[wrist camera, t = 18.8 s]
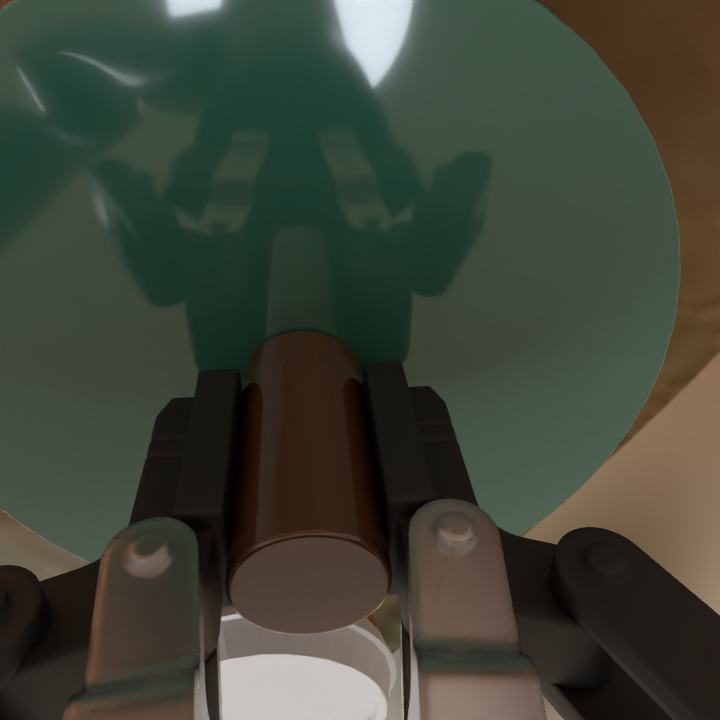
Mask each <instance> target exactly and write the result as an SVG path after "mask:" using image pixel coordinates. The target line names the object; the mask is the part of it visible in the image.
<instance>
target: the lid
mask: <svg viewBox="0 0 720 720" xmlns="http://www.w3.org/2000/svg"><path fill="white" fill-rule="evenodd" d="M680 280H681V270H680V233H679V227H678V222H677V216H676V211H675V205H674V200H673V194H672V189H671V185H670V182H669V179H668V176H667V173H666V171H665V168H664V165H663V162H662V159H661V157H660V154H659V151H658V148H657V146H656V143H655V140H654V138H653V136H652V134H651V132H650V130H649V129H648V127H647V125H646V123H645V121H644V120H643V118H642V116H641V114H640V113H639V111H638V109H637V107H636V105H635V104H634V102H633V100H632V98H631V97H630V95H629V93H628V91H627V90H626V89H625V87H624V86H623V85H622V84H621V82H620V81H619V80H618V79H617V77H616V76H615V75H614V74H613V72H612V71H611V70H610V69H609V68H608V66H607V65H606V64H605V63H604V61H603V60H602V59H601V58H600V56H599V55H598V54H597V53H596V51H595V50H594V49H593V48H592V46H591V45H589V44H588V43H587V42H586V41H585V40H584V39H583V38H582V37H581V36H579V35H578V34H577V33H576V32H575V31H574V30H573V29H572V28H570V27H569V26H568V25H567V24H566V23H565V22H564V21H563V20H561V19H560V18H559V17H558V16H557V15H556V14H555V13H554V12H553V11H551V10H550V9H549V8H548V7H547V6H546V5H545V4H543V3H541V2H540V1H538V0H11V1H9V2H8V3H6V4H5V5H4V6H2V7H1V8H0V509H2V510H3V511H4V512H6V513H7V514H8V515H9V516H11V517H12V518H13V519H15V520H16V521H17V522H18V523H20V524H21V525H23V526H24V527H26V528H28V529H29V530H31V531H32V532H34V533H36V534H37V535H39V536H40V537H42V538H44V539H45V540H47V541H48V542H50V543H52V544H53V545H55V546H57V547H59V548H61V549H63V550H65V551H67V552H69V553H71V554H73V555H75V556H77V557H79V558H81V559H83V560H85V561H87V562H89V563H92V562H94V561H96V560H98V559H99V558H101V557H102V554H103V552H104V549H105V548H106V546H107V545H108V543H109V542H110V541H111V540H112V538H113V537H114V536H115V535H117V534H118V533H119V532H120V531H121V530H123V529H124V528H126V527H128V525H129V522H130V518H131V514H132V510H133V506H134V502H135V499H136V495H137V491H138V487H139V483H140V479H141V475H142V471H143V467H144V463H145V459H147V451H148V448H149V444H150V442H151V436H152V432H153V428H154V424H155V420H156V417H157V415H158V414H159V413H160V412H161V411H162V410H163V408H164V407H165V406H166V405H167V404H168V403H169V401H170V400H171V399H172V398H186V397H194V395H195V390H196V384H197V379H198V374H199V371H200V370H219V369H239V371H240V375H241V383H242V391H243V394H242V405H241V416H240V427H239V438H238V449H237V459H236V470H235V481H234V492H233V503H232V514H231V524H230V535H229V546H228V554H227V564H226V575H225V591H226V595H227V598H228V600H229V602H230V604H231V606H232V607H233V609H234V610H235V611H236V612H237V613H238V614H239V615H240V616H241V617H242V618H244V619H245V620H247V621H248V622H250V623H252V624H254V625H256V626H258V627H261V628H263V629H266V630H270V631H274V632H279V633H285V634H297V635H307V634H319V633H326V632H331V631H335V630H339V629H342V628H345V627H348V626H351V625H353V624H355V623H357V622H359V621H361V620H363V619H364V618H366V617H368V616H369V615H370V614H372V613H373V612H374V611H375V610H377V609H378V608H379V607H380V606H381V604H382V603H383V602H384V601H385V599H386V597H387V596H388V594H389V591H390V588H391V585H392V580H393V573H392V566H391V559H390V553H389V546H388V542H387V538H386V531H385V525H384V518H383V512H382V505H381V499H380V493H379V486H378V480H377V473H376V467H375V460H374V454H373V448H372V441H371V435H370V428H369V422H368V415H367V409H366V403H365V396H364V390H363V366H364V363H377V362H399V361H401V362H402V364H403V368H404V372H405V376H406V380H407V384H408V387H416V386H430V387H431V388H432V389H433V390H434V391H435V392H436V393H437V394H438V395H439V396H440V397H441V398H442V399H443V400H444V401H445V402H446V406H447V409H448V412H449V415H450V418H451V421H452V426H453V428H454V431H455V434H456V437H457V442H458V444H459V447H460V450H461V453H462V456H463V459H464V463H465V466H466V469H467V472H468V475H469V478H470V482H471V485H472V488H473V491H474V494H475V497H476V500H477V503H478V505H479V507H480V508H481V509H482V510H483V511H485V512H486V513H487V514H488V515H489V516H490V517H491V518H492V520H493V521H494V522H495V524H496V525H497V526H498V527H499V528H501V529H503V530H505V531H507V532H509V533H511V534H514V535H516V536H519V535H521V534H522V533H524V532H525V531H527V530H528V529H529V528H531V527H532V526H534V525H535V524H536V523H538V522H539V521H541V520H542V519H544V518H545V517H546V516H548V515H549V514H551V513H552V512H553V511H554V510H555V509H556V508H558V507H559V506H560V505H561V504H562V503H564V502H565V501H566V500H567V499H568V498H569V497H571V496H572V495H573V494H574V493H575V492H576V491H578V490H579V489H580V488H581V487H582V486H583V485H584V484H585V483H586V481H587V480H588V479H589V478H590V477H591V476H592V475H593V474H594V473H595V472H596V471H597V470H598V469H599V468H600V467H601V466H602V465H603V464H604V462H605V461H606V460H607V459H608V457H609V456H610V455H611V453H612V452H613V451H614V450H615V448H616V447H617V446H618V444H619V443H620V442H621V440H622V439H623V438H624V436H625V435H626V434H627V432H628V431H629V429H630V428H631V426H632V424H633V423H634V421H635V419H636V418H637V416H638V414H639V412H640V411H641V409H642V407H643V406H644V404H645V402H646V401H647V399H648V397H649V395H650V392H651V390H652V388H653V385H654V383H655V381H656V378H657V376H658V374H659V371H660V369H661V367H662V364H663V362H664V359H665V356H666V352H667V349H668V345H669V341H670V338H671V334H672V331H673V327H674V323H675V319H676V311H677V303H678V295H679V288H680Z"/></svg>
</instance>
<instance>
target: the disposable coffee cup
mask: <svg viewBox="0 0 720 720" xmlns="http://www.w3.org/2000/svg"><path fill="white" fill-rule="evenodd" d="M375 623H376V621H375V618H374V614H373V613H372V614H370V615H369V616H368V617H366V618H364V619H363V620H361V621H359V622H357V623H355V624H353V625H351V626H348V627H345V628H342V629H339V630H335V631H331V632H326V633H319V634H307V635H297V634H285V633H279V632H274V631H270V630H266V629H263V628H261V627H258V626H256V625H254V624H252V623H250V622H248V621H247V620H245V619H244V618H242V617H241V616H240V615H239V614H238V613H237V612H236V611H235V610H234V609H233V607H232V606H229V607H222V614H221V625H220V635H219V640H218V641H219V647H220V668H221V692H222V716H223V720H385V717H386V714H387V707H388V697H389V694H390V693H391V691H392V688H393V686H394V684H395V679H396V675H397V673H396V664H395V660H394V658H393V655H392V652H391V649H390V647H389V646H388V645H387V644H386V643H385V641H384V639H383V637H382V635H381V633H380V631H379V630H378V629H377V626H376V624H375Z"/></svg>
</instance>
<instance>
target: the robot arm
mask: <svg viewBox="0 0 720 720" xmlns="http://www.w3.org/2000/svg"><path fill="white" fill-rule="evenodd" d="M363 390H364V396H365V403H366V409H367V415H368V422H369V428H370V435H371V441H372V448H373V454H374V460H375V467H376V473H377V480H378V486H379V493H380V499H381V505H382V512H383V518H384V525H385V531H386V538H387V542H388V546H389V553H390V559H391V566H392V573H393V580H392V585H391V588H390V591H389V594H388V595H393V594H398V597H399V603H400V609H401V616H402V617H401V629H400V649H401V692H402V693H401V694H402V720H547V716H546V711H545V706H544V701H543V696H542V694H543V695H544V697H545V698H546V699H547V700H548V701H549V702H550V704H551V705H552V706H553V707H554V708H555V710H556V711H557V712H558V713H559V714H560V715H561V716H562V718H563V719H564V720H720V615H718V614H717V613H716V612H715V611H714V610H713V609H711V608H710V607H709V606H708V605H707V604H705V603H704V602H703V601H702V600H701V599H699V598H698V597H697V596H696V595H695V594H693V593H692V592H691V591H690V590H689V589H688V588H686V587H685V586H684V585H683V584H682V583H680V582H679V581H678V580H677V579H676V578H674V577H673V576H672V575H671V574H670V573H669V572H667V571H666V570H665V569H664V568H663V567H661V566H660V565H659V564H658V563H657V562H655V561H654V560H653V559H652V558H651V557H649V556H648V555H647V554H646V553H645V552H643V551H642V550H641V549H640V548H639V547H638V546H636V545H635V544H634V543H632V542H631V541H630V540H629V539H627V538H625V537H623V536H622V535H620V534H617V533H615V532H613V531H609V530H606V529H602V528H595V527H585V528H579V529H575V530H572V531H570V532H568V533H567V534H566V535H564V536H563V537H562V538H561V539H560V541H559V543H558V545H556V544H551V543H546V542H542V541H537V540H532V539H527V538H523V537H519V536H516V535H514V534H511V533H509V532H507V531H505V530H503V529H501V528H499V527H498V526H497V525H496V524H495V522H494V521H493V520H492V518H491V517H490V516H489V515H488V514H487V513H486V512H485V511H483V510H482V509H481V508H480V507H479V505H478V503H477V500H476V497H475V494H474V491H473V488H472V485H471V482H470V478H469V475H468V472H467V469H466V466H465V463H464V459H463V456H462V453H461V450H460V447H459V444H458V442H457V437H456V434H455V431H454V428H453V426H452V421H451V418H450V415H449V412H448V409H447V406H446V402H445V401H444V400H443V399H442V398H441V397H440V396H439V395H438V394H437V393H436V392H435V391H434V390H433V389H432V388H431V387H430V386H416V387H408V384H407V380H406V376H405V372H404V368H403V364H402V362H401V361H399V362H377V363H364V366H363ZM242 394H243V391H242V383H241V375H240V371H239V369H219V370H200V371H199V374H198V379H197V384H196V390H195V395H194V397H186V398H172V399H171V400H170V401H169V403H168V404H167V405H166V406H165V407H164V408H163V410H162V411H161V412H160V413H159V414H158V415H157V417H156V420H155V424H154V428H153V432H152V436H151V442H150V444H149V448H148V451H147V459H145V463H144V467H143V471H142V475H141V479H140V483H139V487H138V491H137V495H136V499H135V502H134V506H133V510H132V514H131V518H130V522H129V525H128V527H126V528H124V529H123V530H121V531H120V532H119V533H118V534H117V535H115V536H114V537H113V538H112V540H111V541H110V542H109V543H108V545H107V546H106V548H105V549H104V552H103V554H102V557H101V558H99V559H98V560H96V561H94V562H92V563H90V564H89V565H86V566H84V567H81V568H79V569H76V570H73V571H70V572H67V573H64V574H61V575H58V576H55V577H52V578H49V579H46V580H43V581H40V582H39V580H38V579H37V577H36V576H35V575H34V574H33V573H32V572H31V571H29V570H28V569H26V568H23V567H20V566H13V565H3V566H0V720H223V716H222V692H221V668H220V647H219V641H218V640H219V635H220V625H221V614H222V607H229V606H231V604H230V602H229V600H228V598H227V595H226V591H225V575H226V564H227V554H228V546H229V535H230V524H231V514H232V503H233V492H234V481H235V470H236V459H237V449H238V438H239V427H240V416H241V405H242Z"/></svg>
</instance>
